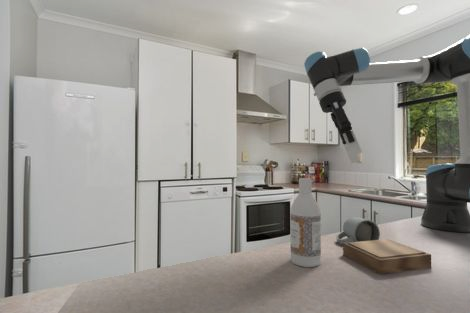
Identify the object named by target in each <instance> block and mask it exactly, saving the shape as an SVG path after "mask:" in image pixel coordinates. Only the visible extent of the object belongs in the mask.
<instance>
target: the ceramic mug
mask: <svg viewBox="0 0 470 313" xmlns="http://www.w3.org/2000/svg"><path fill="white" fill-rule="evenodd" d="M342 230H343V231H342V232H340V233H338V234H337V235H336V237H335V238H336V241H337V243H338V244H339V245H343V243H349V242H360V241H371V240H380V235H381V234H380V233H381V232H380V228H379V226H378V224H377V223H376V222H375V221H373V220H370V219H367V218H361V217H358V216H353V217H349V218H347V219H346V220H345V221H344V222H343V227H342ZM345 237H346V238H345Z"/></svg>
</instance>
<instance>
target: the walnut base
mask: <svg viewBox="0 0 470 313" xmlns="http://www.w3.org/2000/svg"><path fill="white" fill-rule="evenodd" d="M342 255H343V256H345V257H347V258H349V259H350V260H353V261H354V262H356V263H358V264H360V265H362V266H364V267H365V268H367V269H369V270H371V271H373V272H375V273H377V274H379V275H380V276H381V275H388V274H395V273H402V272H411V271H418V270H419V271H420V270H426V269H432V254H431V253H429V252H426V251H423V250H419V249H417V248H414V247H411V246H409V245H406V244H403V243H399V242H397V241H395V240H391V239H388V238H383V239H379V240H371V241H360V242H349V243H343V244H342Z"/></svg>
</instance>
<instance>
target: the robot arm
mask: <svg viewBox="0 0 470 313" xmlns="http://www.w3.org/2000/svg"><path fill="white" fill-rule="evenodd" d="M303 66H304V68H305V72H306V75H307V77H308V79H309V82H310V84H311V86H312V89H313V91H314V93H313V96H314V97H316V99H317V100H318V102H319V103H318V104H319V107H320V108H321V111H322V112H323V113H324V114H325V113H327V114H328V113H330V118H331V120H332V122H334V123H333V124H334V127H335V128H336V129H337V131H338V134H339V136H340V139H341V143H342V145H343V146H344V149H345V151H346V154H347V156H348V158H349V160H350V164H353V163H356V162H360V161H361V158H360V156H359V154H361V153H363V150H362V148H361V146H360V144H359V142H358V139H357V137H356V135H355V133H354V131H353V127H352V123H351V121H350V120H349V118H348V116H347V114H346V111H345V110H344V108H343V107H345V105H346V103H347V99H346V97H345V95H344V93H343V91H342V88H341V87H347V86H361V85H363V86H364V85H375V84H376V85H378V84H388V83H389V84H393V83H406V82H408V83H409V82H414V83H415V84H417V85H418V84H432V83H433V84H435V83H436V84H437V83H446V82H450V83H451V84H453V85H454V86H456V94H457V96H456V97H457V98H456V99H457V114H458V134H459V154H460V155H459V156H460V157H459V158H458V159H457V160H456V161H454V163H439V164H434V165H429V166H427V168H426V170H425V184H426V185H425V188H426V189H425V190H426V195H425V196H426V205H425V208H424V210H423V213H422V216H421V218H420V220H421V222H420V224H421V225H422V226H424V227H425V228H430V229H433V230H440V231H446V232H455V233H470V212H469V209H468V204H469V203H470V34H469V35H467V36H465V37H464V38H462V39H461V40H459V41H457V42H456V43H454V44H452V45H450V46H448V47H447V48H444V49H442V50H441V51H438V52H436V53H434V54H431V55H426V56H419V57H418V58H417V59H413V60H399V61H397V60H396V61H387V62H386V61H385V62H371V57H370V54H369V52H368V50H367V49H366V48H365V47H359V48H355V49H353V48H352V49H351V50H348V51H345V52H342V53H338V54H335V55H330V56H327V54H326V53H325V52H324V51H316V52H313V53H312V54H310V55H309V56H308V57H306V59H305V61H304V65H303Z"/></svg>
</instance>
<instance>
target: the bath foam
mask: <svg viewBox="0 0 470 313" xmlns="http://www.w3.org/2000/svg"><path fill="white" fill-rule="evenodd" d="M312 181H313V180H312V178H309V177H304V178H303V177H302V178H301V177H299V179H298V194H297V195H296V197H295V199H294V200H293V202H292V205H291V208H290V261H291V263H293V264H295V265H297V266H299V267H303V268H315V267H318V266H319V265H321V262H322V260H321V259H322V256H321V254H322V242H321V241H322V240H321V239H322V236H321V235H322V232H321V231H322V229H321V226H322V224H321V222H322V221H321V218H322V217H321V209H320V205H319V204H318V202H317V200H316V198H315V197H314V195H313V194H312V188H313V187H312V186H313V184H312V183H313V182H312Z"/></svg>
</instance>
